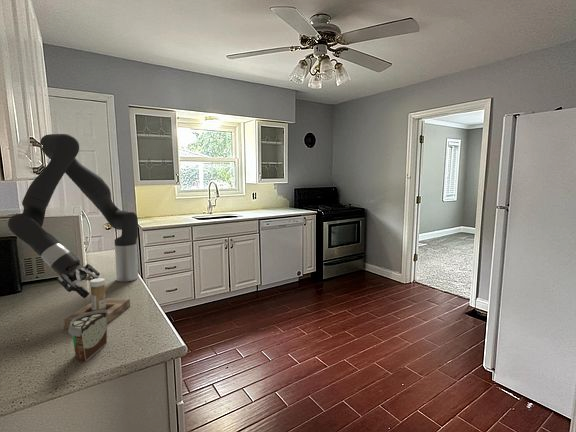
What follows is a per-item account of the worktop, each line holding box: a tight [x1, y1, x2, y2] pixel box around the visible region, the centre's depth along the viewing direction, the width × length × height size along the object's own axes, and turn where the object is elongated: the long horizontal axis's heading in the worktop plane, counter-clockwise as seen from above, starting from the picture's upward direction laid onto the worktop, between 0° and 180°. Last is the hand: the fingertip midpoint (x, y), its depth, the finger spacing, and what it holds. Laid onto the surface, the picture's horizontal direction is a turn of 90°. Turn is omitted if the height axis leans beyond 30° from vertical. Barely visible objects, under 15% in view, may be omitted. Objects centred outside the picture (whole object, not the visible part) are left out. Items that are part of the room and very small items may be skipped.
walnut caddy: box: [63, 297, 131, 329], centre depth 110 cm, size 18×12×3 cm, turn 179°
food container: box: [67, 310, 109, 363], centre depth 87 cm, size 12×6×10 cm, turn 178°
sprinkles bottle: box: [89, 277, 106, 312], centre depth 109 cm, size 5×5×14 cm
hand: (95, 291), depth 109 cm, fingers open, 8 cm apart
